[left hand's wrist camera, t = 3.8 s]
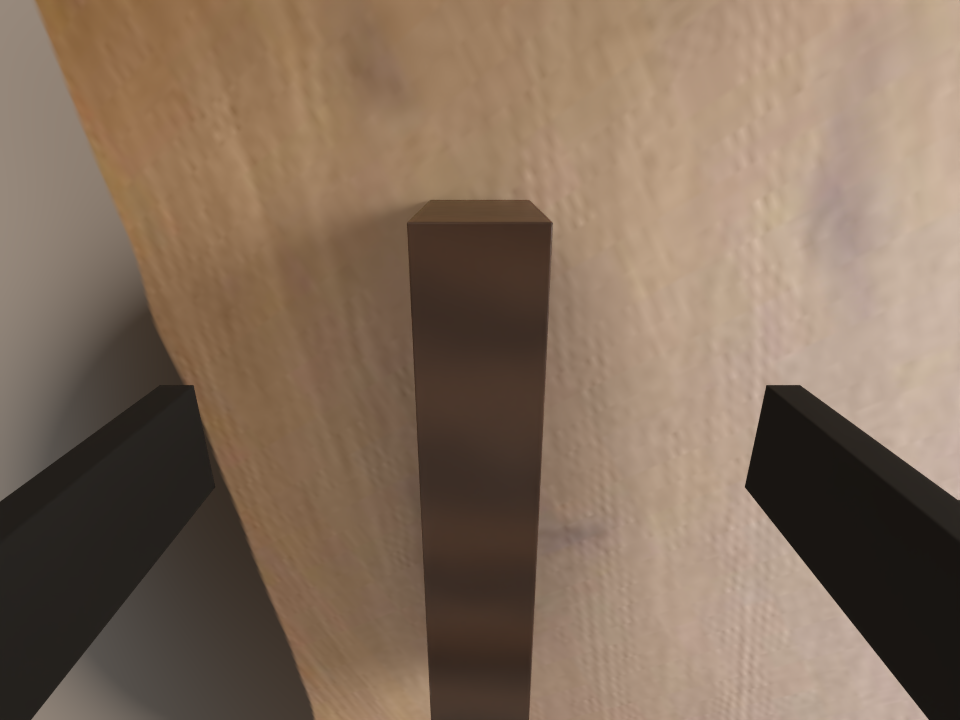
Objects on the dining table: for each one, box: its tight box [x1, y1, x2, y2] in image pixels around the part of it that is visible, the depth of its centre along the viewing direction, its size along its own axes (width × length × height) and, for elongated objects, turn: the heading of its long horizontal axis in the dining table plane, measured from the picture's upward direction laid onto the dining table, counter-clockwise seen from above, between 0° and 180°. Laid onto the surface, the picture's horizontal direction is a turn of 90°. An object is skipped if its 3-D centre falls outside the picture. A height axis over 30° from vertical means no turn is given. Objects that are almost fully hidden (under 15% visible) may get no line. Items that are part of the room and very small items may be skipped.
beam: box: [407, 200, 553, 720], centre depth 28 cm, size 30×5×9 cm, turn 0°
